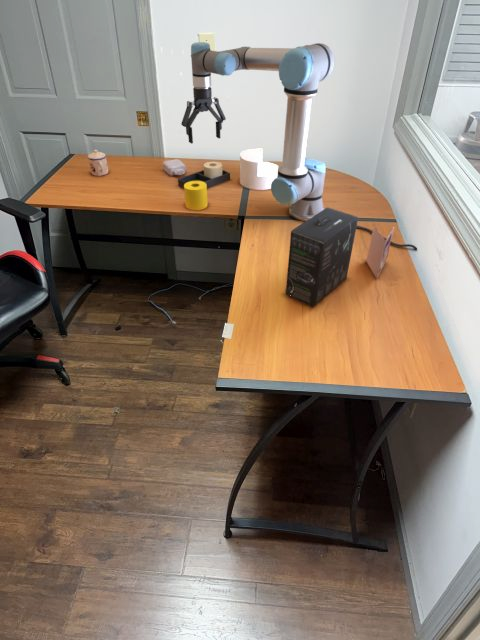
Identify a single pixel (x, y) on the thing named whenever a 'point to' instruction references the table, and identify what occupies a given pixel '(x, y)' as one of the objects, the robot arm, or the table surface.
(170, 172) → the charger
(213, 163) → the paper roll
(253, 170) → the white notched cylinder
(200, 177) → the rack
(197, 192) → the tape roll
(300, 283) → the headset box
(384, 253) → the greeting card
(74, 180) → the table surface
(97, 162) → the teacup with lid
